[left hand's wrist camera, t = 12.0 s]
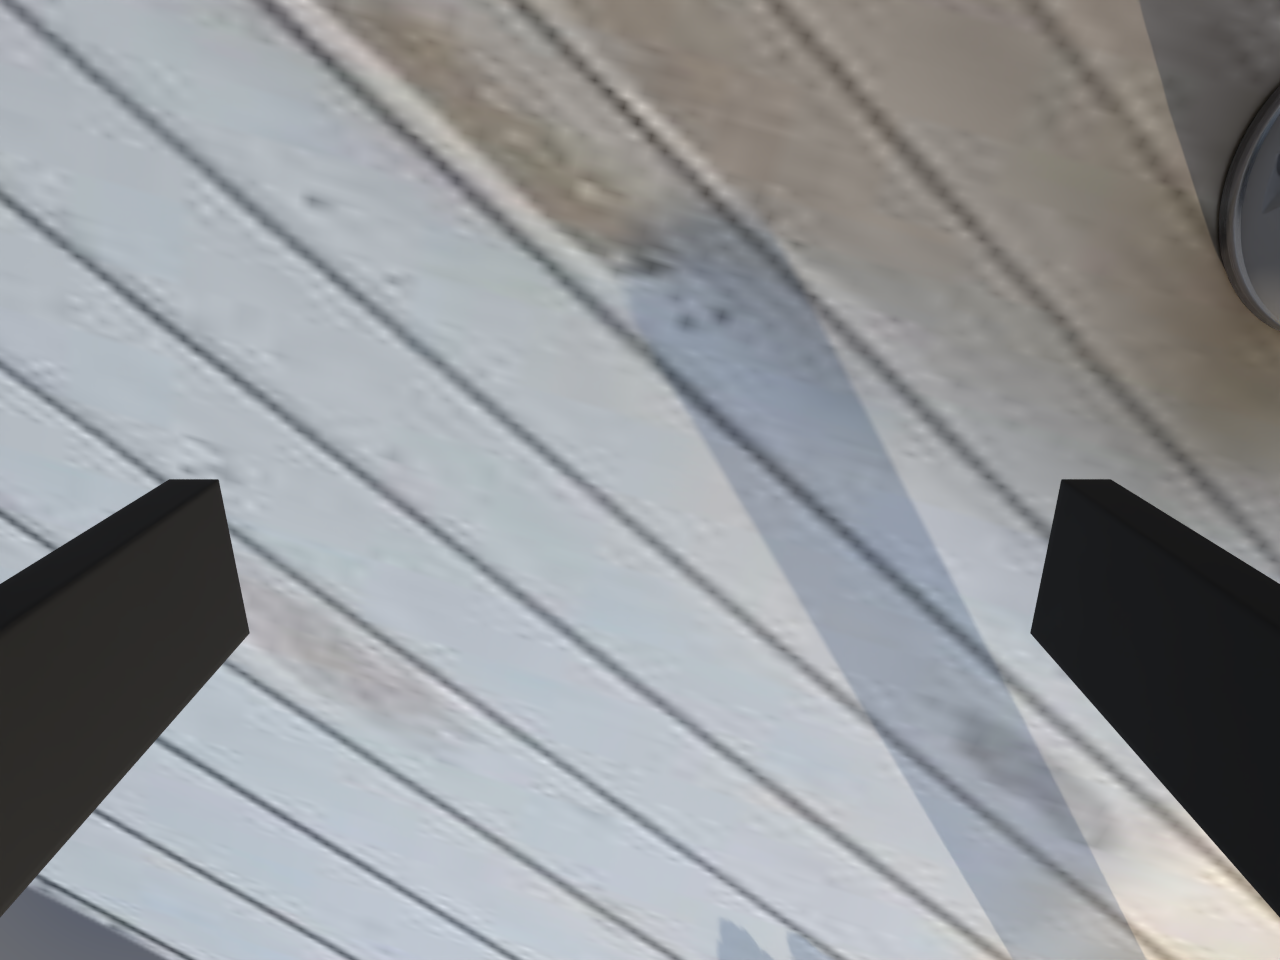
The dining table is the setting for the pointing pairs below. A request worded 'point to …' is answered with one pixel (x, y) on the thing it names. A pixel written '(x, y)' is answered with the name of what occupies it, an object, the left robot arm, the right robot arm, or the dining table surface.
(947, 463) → the dining table surface
